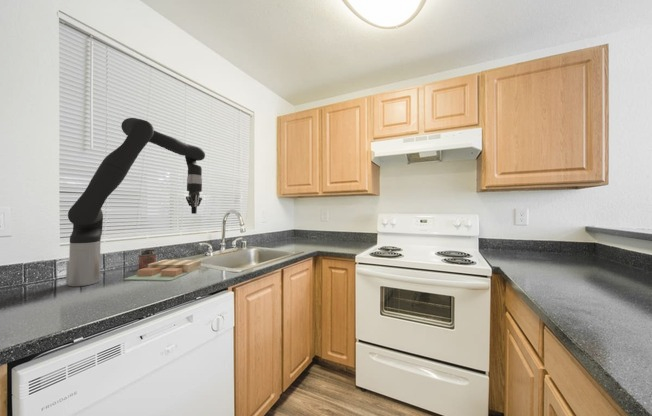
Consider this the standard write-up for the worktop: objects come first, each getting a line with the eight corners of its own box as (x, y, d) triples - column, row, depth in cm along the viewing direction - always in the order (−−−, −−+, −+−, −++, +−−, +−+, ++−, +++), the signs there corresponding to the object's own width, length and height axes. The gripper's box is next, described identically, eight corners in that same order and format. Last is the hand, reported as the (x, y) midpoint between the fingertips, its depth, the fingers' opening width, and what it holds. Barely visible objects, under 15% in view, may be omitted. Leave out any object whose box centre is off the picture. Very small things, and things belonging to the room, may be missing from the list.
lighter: (139, 270, 126) (140, 250, 126) (137, 269, 128) (137, 249, 128) (157, 267, 133) (157, 248, 133) (154, 266, 135) (155, 248, 135)
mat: (123, 280, 108) (123, 278, 108) (146, 272, 121) (146, 271, 121) (170, 280, 108) (171, 279, 108) (188, 273, 121) (188, 272, 121)
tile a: (145, 267, 119) (145, 272, 119) (137, 270, 114) (137, 275, 114) (159, 267, 119) (159, 273, 119) (152, 270, 114) (152, 275, 114)
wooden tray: (147, 272, 122) (148, 264, 122) (164, 266, 134) (164, 259, 134) (187, 273, 121) (187, 265, 121) (200, 267, 133) (200, 260, 133)
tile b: (167, 268, 119) (167, 273, 119) (160, 270, 114) (160, 275, 114) (182, 268, 119) (182, 273, 119) (175, 270, 114) (175, 276, 114)
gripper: (194, 184, 147) (193, 213, 147) (180, 181, 134) (180, 213, 134) (206, 184, 147) (206, 213, 147) (194, 182, 134) (193, 213, 134)
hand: (193, 213), depth 140 cm, fingers closed
